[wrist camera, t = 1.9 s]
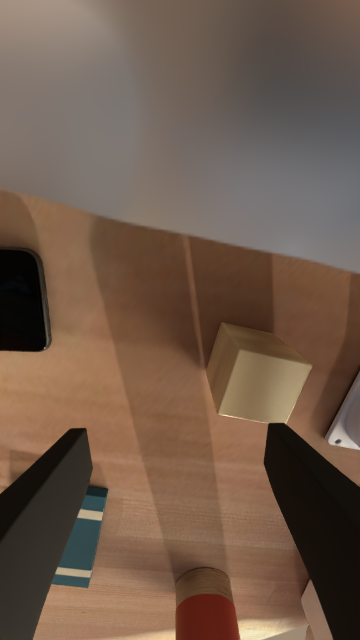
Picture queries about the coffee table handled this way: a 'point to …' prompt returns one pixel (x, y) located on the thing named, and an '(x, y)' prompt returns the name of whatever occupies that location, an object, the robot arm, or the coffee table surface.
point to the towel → (82, 542)
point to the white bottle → (314, 615)
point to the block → (255, 375)
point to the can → (205, 606)
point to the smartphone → (23, 302)
